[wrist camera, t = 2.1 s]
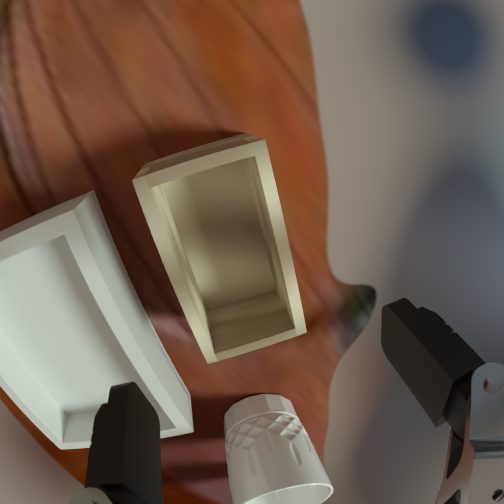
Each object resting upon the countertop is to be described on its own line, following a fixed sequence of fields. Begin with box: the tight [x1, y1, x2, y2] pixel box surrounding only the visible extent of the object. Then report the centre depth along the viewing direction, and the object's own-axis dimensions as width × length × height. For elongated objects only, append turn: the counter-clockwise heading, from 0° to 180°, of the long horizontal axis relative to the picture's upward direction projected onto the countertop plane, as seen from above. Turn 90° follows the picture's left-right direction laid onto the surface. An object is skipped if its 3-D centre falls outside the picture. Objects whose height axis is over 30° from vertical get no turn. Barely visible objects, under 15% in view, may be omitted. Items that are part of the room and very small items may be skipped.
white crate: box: [0, 190, 194, 449], centre depth 19 cm, size 18×13×4 cm
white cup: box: [224, 394, 333, 504], centre depth 24 cm, size 8×8×10 cm
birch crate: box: [132, 133, 307, 364], centre depth 18 cm, size 11×6×5 cm, turn 14°
